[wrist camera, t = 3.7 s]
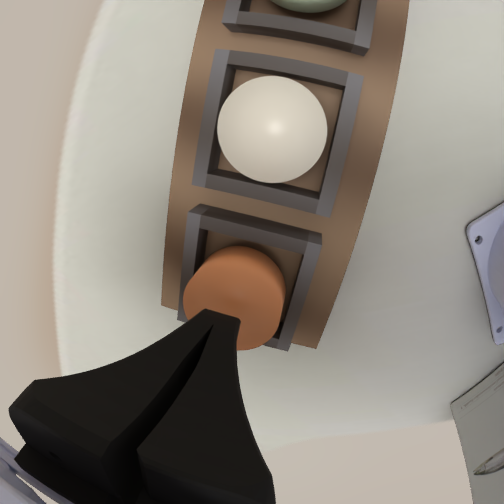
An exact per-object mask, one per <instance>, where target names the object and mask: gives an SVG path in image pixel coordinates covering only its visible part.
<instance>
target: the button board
mask: <svg viewBox="0 0 504 504" xmlns="http://www.w3.org/2000/svg"><path fill="white" fill-rule="evenodd" d="M408 9H409V0H347V1H346V2H344V3H343V4H341V5H340V6H338V7H336V8H333V9H331V10H327V11H323V12H316V13H304V12H297V11H292V10H289V9H286V8H283V7H281V6H279V5H277V4H275V3H274V2H272V1H271V0H205V1H204V5H203V9H202V13H201V17H200V21H199V25H198V29H197V34H196V38H195V43H194V47H193V52H192V57H191V61H190V66H189V71H188V76H187V82H186V87H185V93H184V98H183V104H182V110H181V116H180V122H179V128H178V135H177V142H176V148H175V156H174V163H173V171H172V179H171V187H170V196H169V205H168V215H167V226H166V237H165V250H164V264H163V280H162V299H161V305H162V306H165V307H168V308H171V309H174V310H178V318H177V320H180V321H183V322H187V321H188V319H187V317H186V315H185V311H184V307H183V295H184V291H185V288H186V286H187V284H188V282H189V281H190V280H191V278H192V277H193V276H194V274H195V273H196V272H197V271H198V269H199V268H200V267H201V266H202V264H203V263H204V262H205V261H206V259H207V258H208V257H209V256H210V255H211V254H213V253H214V252H216V251H218V250H220V249H222V248H225V247H230V246H244V247H249V248H252V249H255V250H258V251H260V252H262V253H263V254H265V255H267V256H268V257H269V258H270V259H271V260H272V261H273V262H274V263H275V264H276V265H277V266H278V268H279V269H280V271H281V273H282V275H283V277H284V281H285V286H286V294H285V299H284V304H283V308H282V313H281V317H280V322H279V326H278V328H277V330H276V332H275V334H274V335H273V336H272V338H271V339H270V340H268V341H267V342H266V343H264V344H263V345H265V346H269V347H272V348H276V349H280V350H284V351H288V350H289V347H290V344H291V343H294V344H298V345H302V346H306V347H311V348H315V349H316V348H317V346H318V343H319V341H320V338H321V336H322V333H323V331H324V328H325V326H326V323H327V321H328V318H329V315H330V313H331V310H332V307H333V305H334V302H335V299H336V297H337V294H338V291H339V288H340V286H341V283H342V280H343V277H344V274H345V271H346V269H347V266H348V263H349V260H350V257H351V254H352V251H353V248H354V245H355V242H356V239H357V235H358V232H359V229H360V226H361V223H362V219H363V216H364V213H365V209H366V206H367V203H368V199H369V196H370V192H371V189H372V185H373V182H374V178H375V174H376V171H377V167H378V163H379V159H380V155H381V151H382V147H383V143H384V139H385V135H386V131H387V127H388V122H389V118H390V113H391V109H392V104H393V99H394V94H395V89H396V84H397V79H398V74H399V68H400V63H401V57H402V51H403V45H404V38H405V31H406V24H407V17H408ZM264 76H279V77H285V78H288V79H291V80H294V81H296V82H298V83H300V84H301V85H303V86H304V87H306V88H307V89H308V90H309V91H310V92H311V93H312V94H313V95H314V96H315V97H316V98H317V100H318V101H319V103H320V105H321V106H322V108H323V111H324V113H325V117H326V122H327V138H326V143H325V147H324V149H323V152H322V154H321V156H320V157H319V159H318V160H317V162H316V163H315V164H314V165H313V167H311V168H310V169H309V170H308V171H307V172H305V173H304V174H303V175H301V176H299V177H297V178H295V179H292V180H289V181H286V182H280V183H266V182H260V181H257V180H253V179H251V178H249V177H247V176H245V175H243V174H242V173H240V172H239V171H238V170H236V169H235V168H234V167H233V166H232V165H231V164H230V162H229V161H228V160H227V159H226V157H225V155H224V154H223V151H222V149H221V147H220V144H219V140H218V134H217V124H218V118H219V114H220V111H221V108H222V106H223V104H224V102H225V101H226V99H227V98H228V97H229V95H230V94H231V93H232V92H233V91H234V90H235V89H236V88H238V87H239V86H240V85H242V84H244V83H245V82H247V81H250V80H252V79H255V78H258V77H264Z"/></svg>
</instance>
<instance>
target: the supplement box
mask: <svg viewBox="0 0 504 504" xmlns="http://www.w3.org/2000/svg"><path fill="white" fill-rule="evenodd" d="M451 410H452V413H453V417H454V420H455V424H456V427H457V430H458V434H459V438H460V442H461V446H462V450H463V454H464V458H465V462H466V467H467V471H468V476H469V481H470V487H471V493H472V499H473V504H504V363H503V364H502V365H501V366H500V367H499V368H498V369H497V370H495V371H494V372H493V373H492V374H491V375H489V376H488V377H487V378H486V379H484V380H483V381H482V382H481V383H479V384H478V385H477V386H475V387H474V388H473V389H472V390H470V391H469V392H468V393H466V394H465V395H463V396H462V397H461V398H459V399H457V400H456V401H454V402H453V403H452V404H451Z"/></svg>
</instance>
